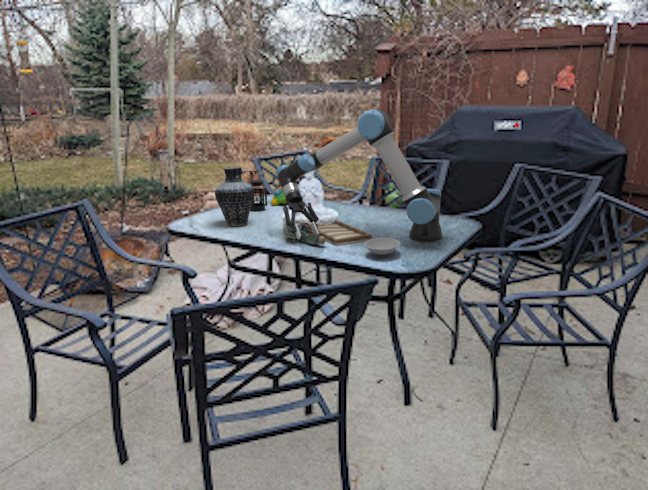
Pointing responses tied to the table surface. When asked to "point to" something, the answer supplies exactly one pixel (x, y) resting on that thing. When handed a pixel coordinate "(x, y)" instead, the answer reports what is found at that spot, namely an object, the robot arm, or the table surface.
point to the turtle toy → (278, 197)
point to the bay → (340, 233)
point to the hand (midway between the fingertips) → (308, 236)
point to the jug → (235, 196)
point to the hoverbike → (304, 235)
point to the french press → (259, 206)
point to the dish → (382, 245)
